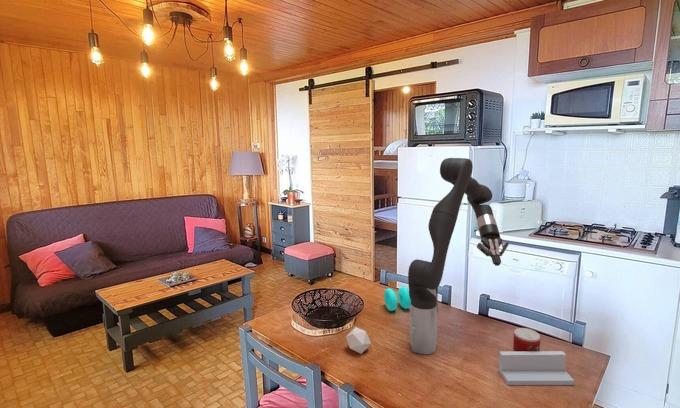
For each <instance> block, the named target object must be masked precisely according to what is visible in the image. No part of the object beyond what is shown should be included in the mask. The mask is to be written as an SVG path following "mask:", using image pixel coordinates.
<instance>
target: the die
mask: <svg viewBox="0 0 680 408" xmlns="http://www.w3.org/2000/svg"><path fill="white" fill-rule="evenodd" d="M345 339H346V341H347V344H348V347H349V349H350V350H353V351H354V352H356V353H358V354H360V355H361V354H363V353H364V352H365V351H366V350H367V349H368V348H369V346H370V345H371V344H372V343H371V340H370V337H369V335H368V333H367V331H366V330H364V329H362V328H359V327H357V326H355V327H353V329H352V330H351V331H350V332H349V333H348V334H347V335H346V336H345Z"/></svg>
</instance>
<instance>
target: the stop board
mask: <svg viewBox="0 0 680 408" xmlns="http://www.w3.org/2000/svg"><path fill="white" fill-rule="evenodd" d="M498 355H499V360H498V362H499V363H498V372H499V374H500V376H501V377H502V378H503V381H504V382H505V383H506V385H507V386H575V379H574V378H572V376H571V375H570V374H569V373H568V372H567V371H566V363H567V354H566V353H565V352H564V351H563V350H558V351H557V350H548V351H547V350H543V351H540V350H539V351H513V350H512V351H510V350H509V351H499V354H498Z"/></svg>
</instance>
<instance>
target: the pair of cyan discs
mask: <svg viewBox="0 0 680 408" xmlns="http://www.w3.org/2000/svg"><path fill="white" fill-rule="evenodd" d="M383 295H384V296H383V299H384V305H385V307H386V309H387V310H388V311H389V312H394V311H395V310H397V309H396V308H397V307H398V303H399V304H400V306H401V308H403V309H405V310H407V309H409V308H411V300H410V297H409V288H408V287H406V286H401V287H399V289H398V291H397V294H396V292H395V291H394V290H393V289H392V288H390V287H389V288H386V289H385V290H384V292H383Z"/></svg>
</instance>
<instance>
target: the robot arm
mask: <svg viewBox="0 0 680 408" xmlns="http://www.w3.org/2000/svg"><path fill="white" fill-rule="evenodd" d="M473 169H474V167H473V160H471V159H469V158H465V157H464V158H463V157H447V158H444V159H443V160H442V161H441V163H440V167H439V174H440V178H441V179H442V180H444V181H445V182H447V183H450V184H452V185H453V187H452V188H451V190H450V191H449V192H448V193H447V194H446V195H445V196H444V197H443V198H442V199H441V200H440V201H439V202H438V203H437V204H435V206H434V207H433V209H432V212H431V214H430V218H429V221H428V225H427V226H428V232H429V236H430V238H431V242H432V247H433V252H432V253H433V255H432V259H431V261H427V260H424V259H423V260H422V259H418V258H416V259H413V261H412V262H410V265H409V266H408V271H407V283H408V290H409V297H410V300H411V305H410V320H409V345H410V350H411V352H412V353H417V354H420V355H430V354H431V355H432V354H433V353H435V352H436V351H437V335H438V334H437V322H438V321H437V317H438V314H437V313H438V298H436V296H435V295H434V294H433V293H431V292H430V291H429V290H428V289H432V290H434V289H436V288H437V287H438V288H439V286H440V284H441V282H442V279H443V275H444V271H445V265H446V259H447V254H448V251H449V247H450V244H451V239H452V236H453V233H454V230H455V226H456V223H457V220H458V218H459V217H458V215H459V212H460V208H461V205H462V203H463V198H464V196H465V195H466V200H467V201H468V203H469V205H470V207H472V209H473V212H474V214H475V218H476V221H477V222H476V224H477V229H478V233H479V236H480V242H479V243H477V245H476V249H478V250H479V251H480V252H481V253H482V254H483V255H485V256H486V257H490V258H491V260H492V261H491V262H492V264H493V265H494V266H495V267H496V266H497V267H498V266H500V265H501V264H502V259H501V257H502V256H503V254H504V253H505V252H506V251H507V248H508V247H509V245H510V244H509V242H505V241H503V239H502V237H501V234H500V231H499V227H498V223H497V221H496V219H495V216H494V212H493V208H492V207H491V206H490V205H489V204H486V203H488V202H491V200H492V199H493V192H492V190H491V189H490V188H489V187H488V186H487V185H484V184H482V183H480V182H479V181H477V179H475V178H474V177H472V175H473V174H472V173H473ZM500 247H501V250H500ZM427 288H428V289H427Z"/></svg>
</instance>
